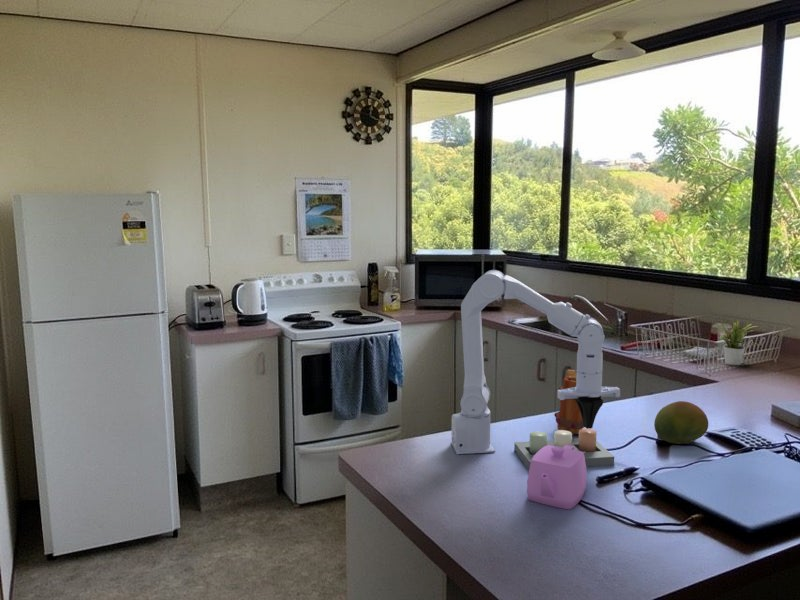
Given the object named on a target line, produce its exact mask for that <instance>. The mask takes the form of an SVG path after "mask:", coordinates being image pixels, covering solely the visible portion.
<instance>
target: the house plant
mask: <svg viewBox="0 0 800 600" xmlns="http://www.w3.org/2000/svg"><path fill="white" fill-rule="evenodd" d="M731 321H732V324H733V326H732V329H731V330H730V333H729V332H728V330H727V329H726V326H724V325H722V324H721V323H718V322H717V324H718V325H720V328H721V329H722V330H723V331H724V333H722V335H723V336H719V337H718V338H719V339H721V340H723V341H724V342H725V343H726V344H724V345H723V353H724V360H725V361H724V362H725V364H727V365H731V366H741V365H742V362H743V358H744V354H745V351H746V347H745V346H743V345H744V344H745V343H746V342H748V341H749V340H752V341H753V342H754V341H755V340H754V339H753V337H752V338H750V337H749V338H748V337H745V335H746V334H748V333H749V332H753V331H755V330H753V329H752V330H751V328H757V327H759V326H758V325H753V323H750V324H748V325H746V326H745V327H743V328H740V323H739V320H738V319H736V322H735V321H734V320H733V319H731ZM752 325H753V326H752ZM749 329H750V330H749ZM745 340H746V341H745ZM742 342H743V343H742ZM741 343H742V345H741Z"/></svg>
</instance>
